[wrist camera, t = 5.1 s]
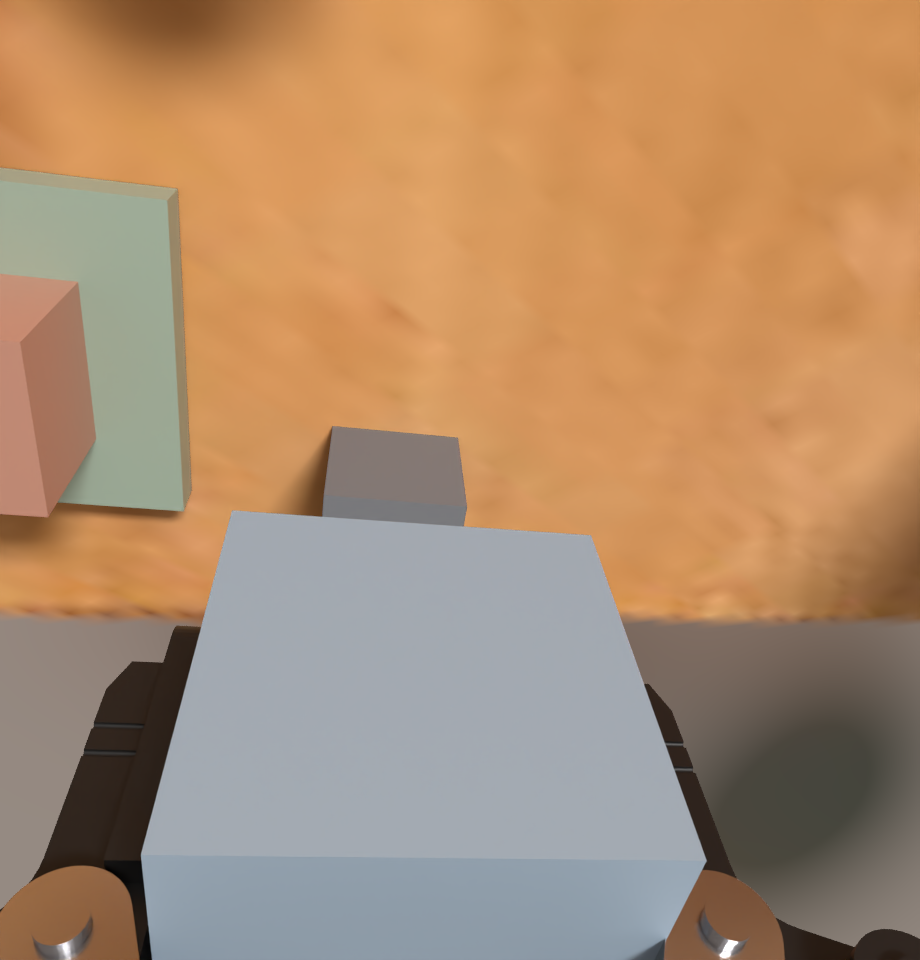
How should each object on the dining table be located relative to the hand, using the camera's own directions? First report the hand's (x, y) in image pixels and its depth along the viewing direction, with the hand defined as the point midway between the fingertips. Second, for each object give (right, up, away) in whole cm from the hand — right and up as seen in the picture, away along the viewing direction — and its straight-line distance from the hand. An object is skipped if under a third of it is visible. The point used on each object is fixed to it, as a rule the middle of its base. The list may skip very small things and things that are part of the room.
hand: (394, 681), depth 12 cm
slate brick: (-2, +3, +22) cm, 22 cm away
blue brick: (0, 0, 0) cm, 1 cm away
